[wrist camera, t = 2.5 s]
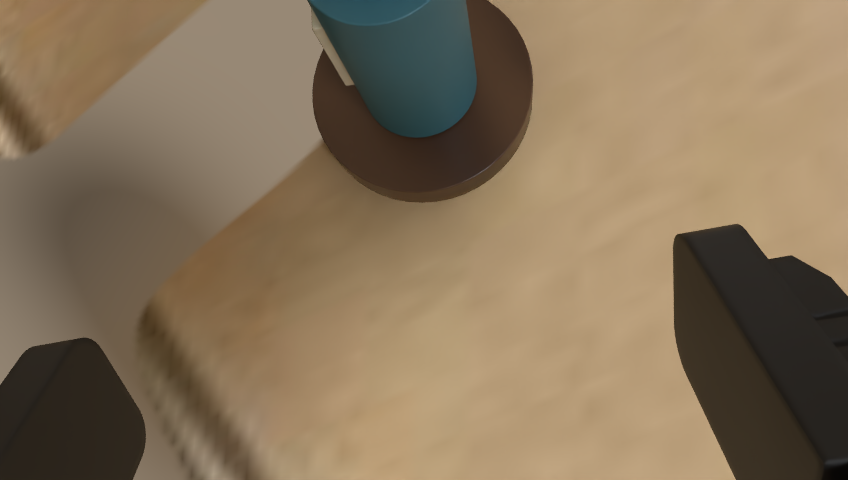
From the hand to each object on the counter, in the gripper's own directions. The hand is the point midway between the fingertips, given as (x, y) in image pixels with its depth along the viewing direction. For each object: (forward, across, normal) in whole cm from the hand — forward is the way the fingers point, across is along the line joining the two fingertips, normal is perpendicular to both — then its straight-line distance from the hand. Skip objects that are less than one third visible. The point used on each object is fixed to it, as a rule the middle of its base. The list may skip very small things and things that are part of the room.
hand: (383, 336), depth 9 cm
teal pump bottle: (+18, 0, +3) cm, 18 cm away
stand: (+19, 0, +4) cm, 20 cm away
